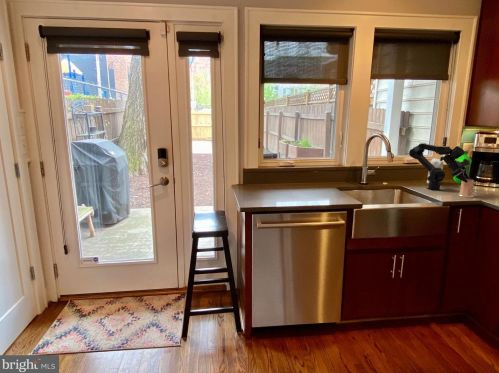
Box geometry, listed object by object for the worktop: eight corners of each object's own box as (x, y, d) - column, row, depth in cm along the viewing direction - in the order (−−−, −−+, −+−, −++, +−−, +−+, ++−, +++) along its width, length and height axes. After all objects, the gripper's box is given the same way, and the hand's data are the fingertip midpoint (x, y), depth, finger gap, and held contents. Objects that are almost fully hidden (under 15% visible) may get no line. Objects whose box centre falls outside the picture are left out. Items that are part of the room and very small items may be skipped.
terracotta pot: (464, 195, 214) (467, 180, 211) (457, 193, 220) (460, 178, 218) (473, 195, 214) (476, 180, 212) (466, 193, 220) (469, 178, 218)
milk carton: (430, 181, 258) (434, 157, 254) (440, 183, 253) (444, 159, 248) (426, 183, 254) (430, 158, 249) (436, 184, 248) (440, 159, 244)
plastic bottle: (462, 181, 262) (467, 150, 256) (470, 184, 252) (476, 152, 246) (449, 181, 262) (454, 149, 256) (457, 184, 252) (462, 151, 246)
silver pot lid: (463, 197, 212) (464, 190, 211) (453, 193, 221) (454, 187, 220) (477, 197, 213) (478, 190, 212) (466, 193, 222) (468, 187, 221)
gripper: (460, 156, 207) (478, 176, 203) (465, 153, 221) (482, 172, 217) (444, 167, 214) (461, 186, 210) (450, 163, 228) (465, 181, 224)
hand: (468, 181), depth 215 cm, fingers open, 9 cm apart
